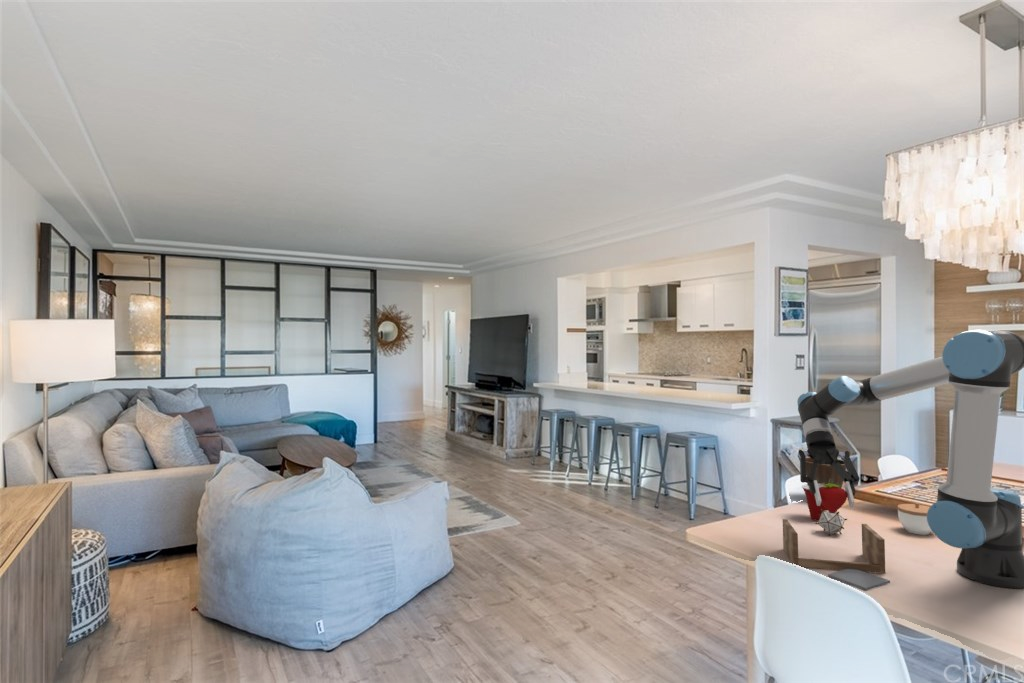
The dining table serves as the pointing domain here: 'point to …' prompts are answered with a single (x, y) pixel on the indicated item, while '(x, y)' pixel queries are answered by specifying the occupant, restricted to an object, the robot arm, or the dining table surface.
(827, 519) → the game die
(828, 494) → the strawberry
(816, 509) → the plastic cup
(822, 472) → the plant pot
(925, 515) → the lidded jar
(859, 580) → the pad
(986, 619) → the dining table surface
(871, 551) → the wooden crossbar stand
